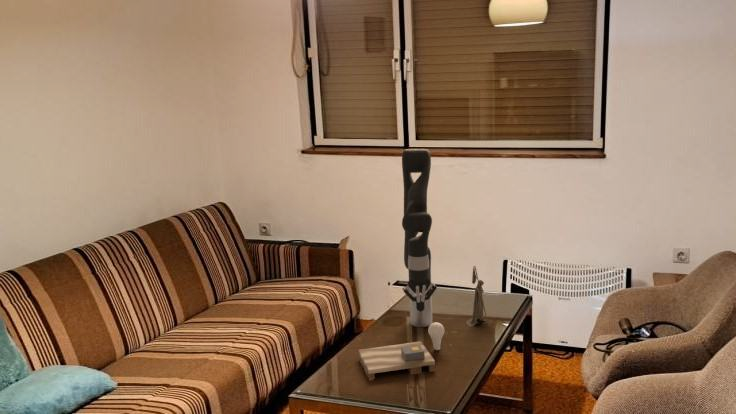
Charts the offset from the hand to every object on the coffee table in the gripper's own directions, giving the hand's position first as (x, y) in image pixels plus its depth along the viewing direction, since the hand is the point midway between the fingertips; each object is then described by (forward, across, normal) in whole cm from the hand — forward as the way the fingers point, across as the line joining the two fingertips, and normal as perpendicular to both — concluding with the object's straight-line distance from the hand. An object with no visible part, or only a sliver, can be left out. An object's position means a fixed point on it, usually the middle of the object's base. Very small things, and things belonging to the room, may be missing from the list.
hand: (420, 310), depth 263 cm
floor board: (+18, +11, +5) cm, 22 cm away
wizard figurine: (+19, -30, -25) cm, 44 cm away
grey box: (+14, +6, +9) cm, 17 cm away
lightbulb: (+18, -7, -3) cm, 20 cm away
